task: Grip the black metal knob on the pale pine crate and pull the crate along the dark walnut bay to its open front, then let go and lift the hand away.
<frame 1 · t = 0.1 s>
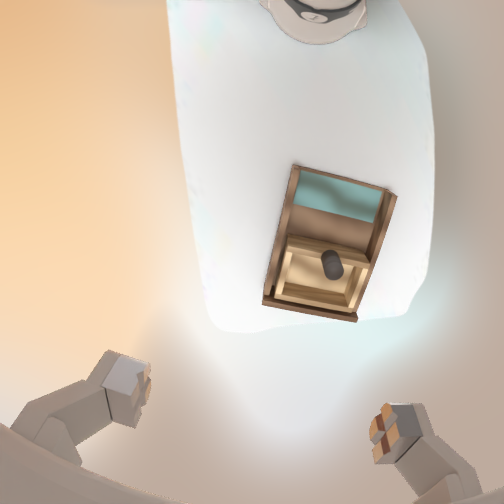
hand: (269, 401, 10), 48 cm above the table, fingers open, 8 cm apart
crate: (322, 277, 53), point 7 cm above the table, slide at 0.0 cm
bay: (325, 239, 58), on the table
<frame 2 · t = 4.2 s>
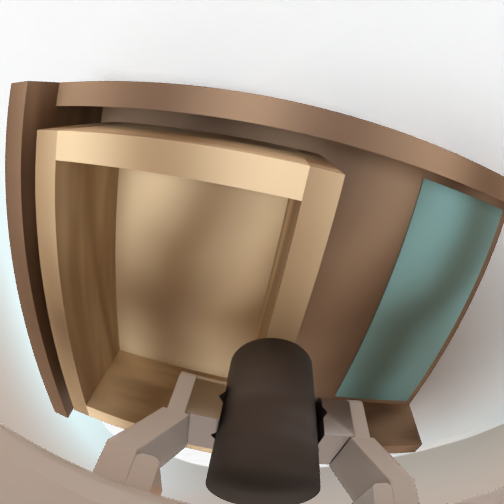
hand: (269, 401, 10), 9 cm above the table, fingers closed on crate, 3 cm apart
crate: (168, 337, 12), point 7 cm above the table, slide at 0.0 cm, touching gripper
bay: (283, 280, 18), on the table
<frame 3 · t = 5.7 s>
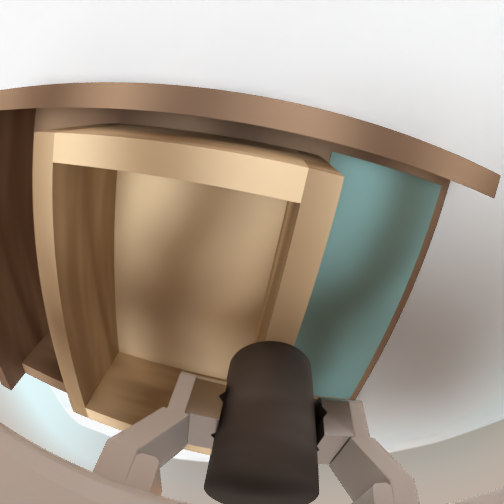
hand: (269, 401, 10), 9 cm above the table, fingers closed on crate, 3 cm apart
crate: (167, 340, 11), point 7 cm above the table, slide at 4.9 cm, touching gripper
bay: (196, 263, 18), on the table
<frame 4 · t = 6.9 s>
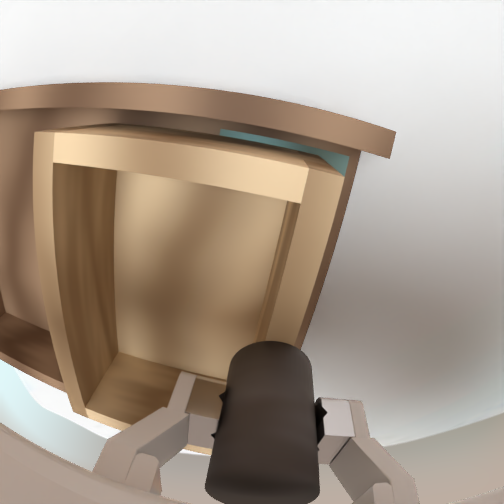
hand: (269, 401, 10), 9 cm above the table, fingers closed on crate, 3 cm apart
crate: (167, 340, 11), point 7 cm above the table, slide at 10.1 cm, touching gripper
bay: (115, 245, 18), on the table
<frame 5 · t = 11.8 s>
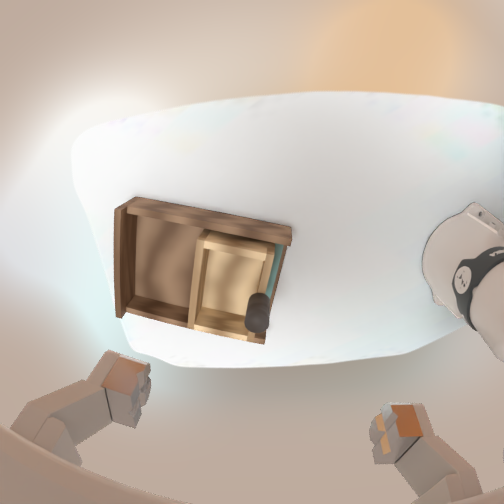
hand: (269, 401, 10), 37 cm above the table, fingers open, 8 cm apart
crate: (230, 294, 43), point 7 cm above the table, slide at 10.1 cm
bay: (202, 264, 50), on the table
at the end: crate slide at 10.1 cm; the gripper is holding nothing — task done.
